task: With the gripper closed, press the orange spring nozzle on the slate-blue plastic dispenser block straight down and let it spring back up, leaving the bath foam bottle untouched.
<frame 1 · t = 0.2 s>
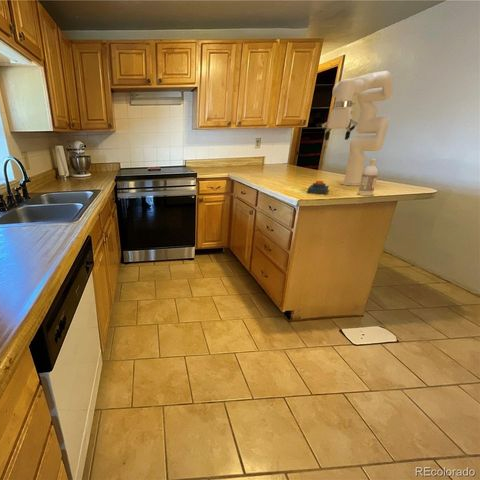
hand: (336, 139, 148), 31 cm above the countertop, tool pointing down, fingers open, 9 cm apart
nozzle: (319, 182, 165), point 6 cm above the countertop, slide at 0.1 cm
bath foam: (365, 194, 155), on the countertop
dispenser: (317, 191, 167), on the countertop
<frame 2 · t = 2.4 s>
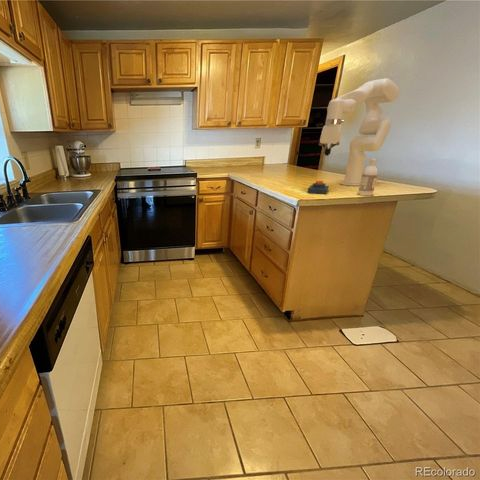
hand: (326, 155, 162), 22 cm above the countertop, tool pointing down, fingers closed
nothing on the countertop moved.
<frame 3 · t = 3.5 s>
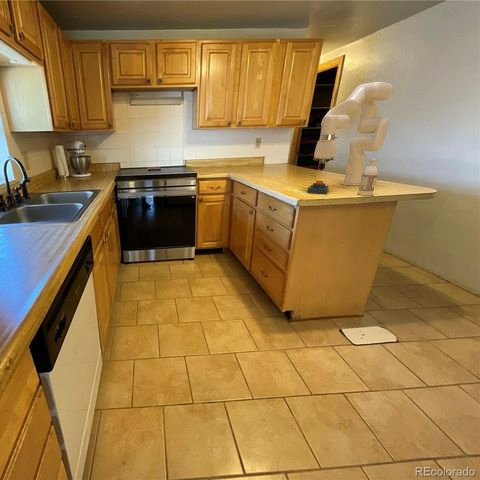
hand: (321, 170, 162), 13 cm above the countertop, tool pointing down, fingers closed
nothing on the countertop moved.
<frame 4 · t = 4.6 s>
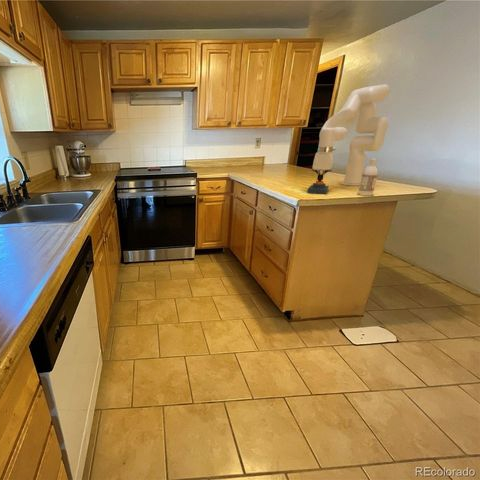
hand: (319, 181, 165), 7 cm above the countertop, tool pointing down, fingers closed
nozzle: (319, 182, 165), point 6 cm above the countertop, slide at 0.1 cm, touching gripper
everything else where it was.
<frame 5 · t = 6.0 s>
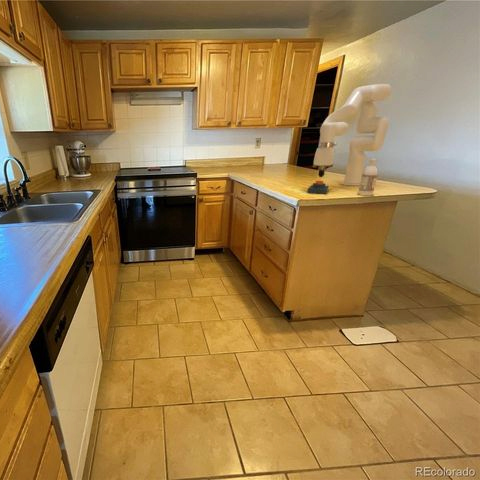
hand: (320, 176, 164), 9 cm above the countertop, tool pointing down, fingers closed
nozzle: (319, 182, 165), point 6 cm above the countertop, slide at 0.1 cm
everything else where it was.
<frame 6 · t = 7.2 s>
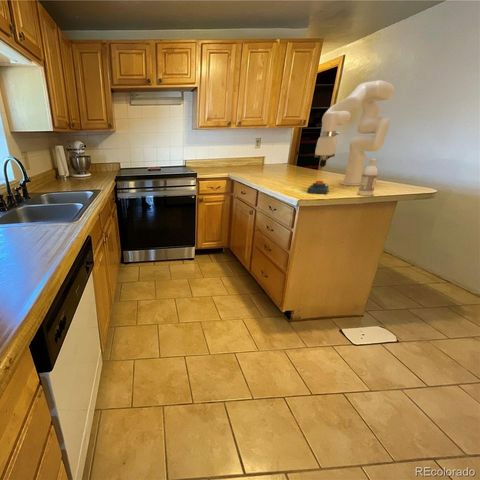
hand: (322, 166, 162), 15 cm above the countertop, tool pointing down, fingers closed
nothing on the countertop moved.
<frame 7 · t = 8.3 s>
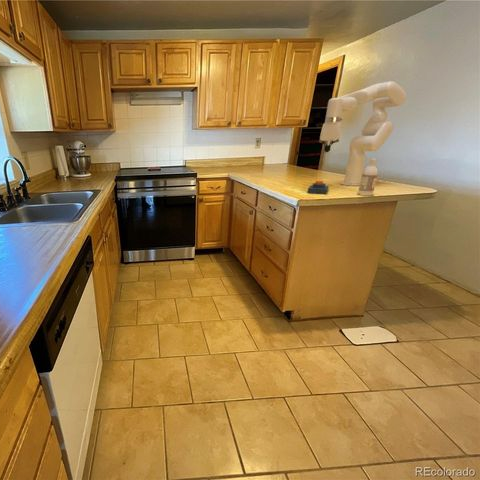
hand: (326, 152, 168), 23 cm above the countertop, tool pointing down, fingers closed
nothing on the countertop moved.
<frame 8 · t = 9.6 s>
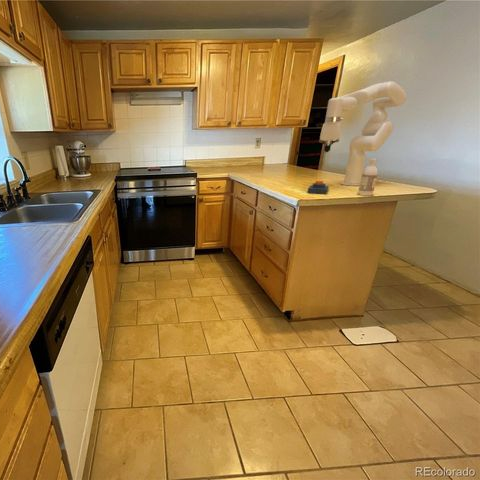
hand: (326, 152, 168), 23 cm above the countertop, tool pointing down, fingers closed
nothing on the countertop moved.
at the end: nozzle pushed in 1.3 cm at the most during the clip, back to where it started at the end; nozzle slide at 0.1 cm; bath foam moved 0.2 cm from its start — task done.
